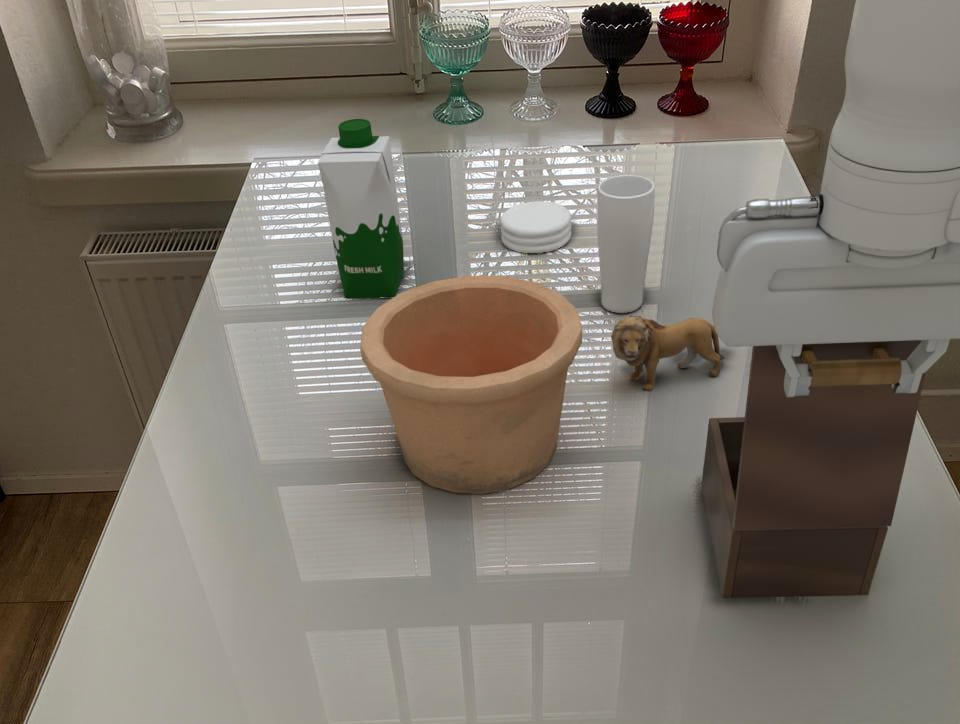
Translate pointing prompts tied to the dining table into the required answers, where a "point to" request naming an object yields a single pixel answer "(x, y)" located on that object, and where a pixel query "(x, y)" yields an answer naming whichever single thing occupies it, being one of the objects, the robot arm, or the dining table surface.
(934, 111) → the robot arm
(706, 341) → the lion figurine
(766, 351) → the lid
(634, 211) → the drinking glass
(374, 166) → the milk carton
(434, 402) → the pottery
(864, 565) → the box
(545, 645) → the dining table surface
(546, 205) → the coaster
